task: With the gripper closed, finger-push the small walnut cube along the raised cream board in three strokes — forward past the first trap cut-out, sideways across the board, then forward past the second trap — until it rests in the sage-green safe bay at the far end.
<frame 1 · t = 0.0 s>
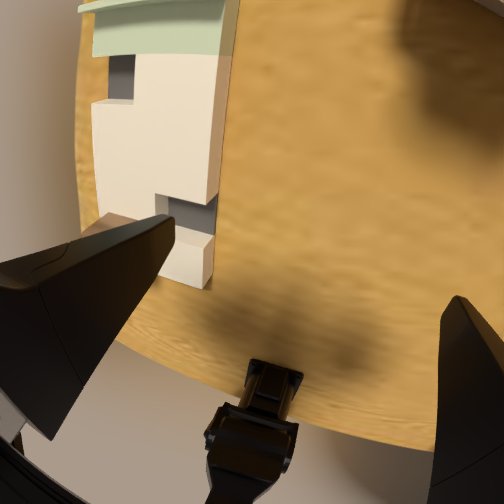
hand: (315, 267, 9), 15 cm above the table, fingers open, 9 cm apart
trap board: (160, 141, 25), on the table
walnut block: (127, 235, 28), point 2 cm above the table, touching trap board
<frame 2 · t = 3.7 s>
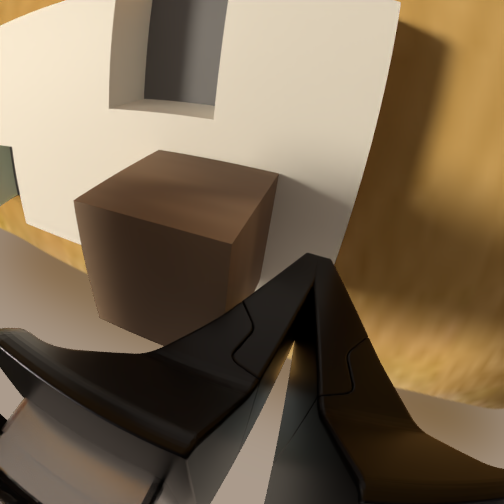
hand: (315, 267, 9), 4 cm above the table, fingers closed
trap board: (88, 115, 13), on the table
walnut block: (210, 216, 11), point 3 cm above the table, touching gripper
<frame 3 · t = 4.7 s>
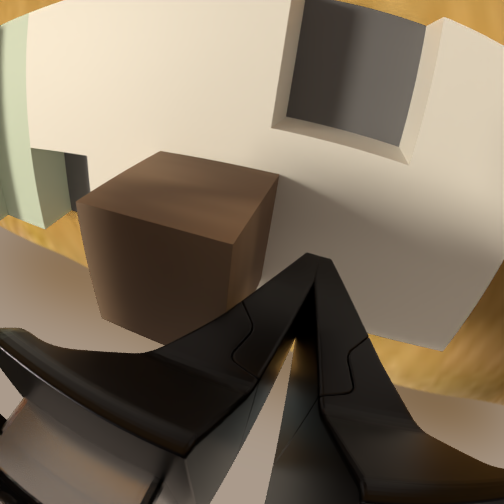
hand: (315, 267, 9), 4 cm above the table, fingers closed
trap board: (195, 125, 12), on the table
walnut block: (211, 216, 11), point 2 cm above the table, touching gripper, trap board
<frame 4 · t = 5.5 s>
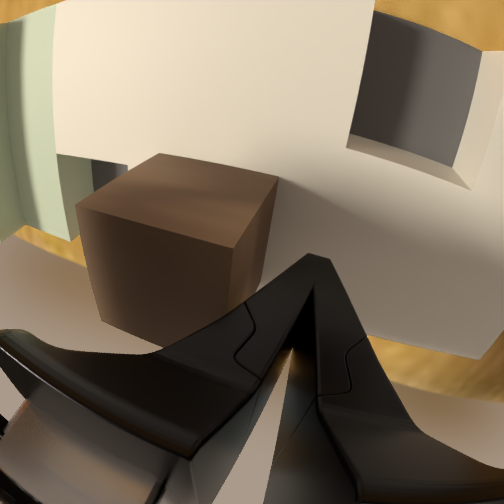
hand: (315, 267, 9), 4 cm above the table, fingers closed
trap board: (246, 135, 11), on the table
walnut block: (211, 219, 11), point 2 cm above the table, touching gripper, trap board
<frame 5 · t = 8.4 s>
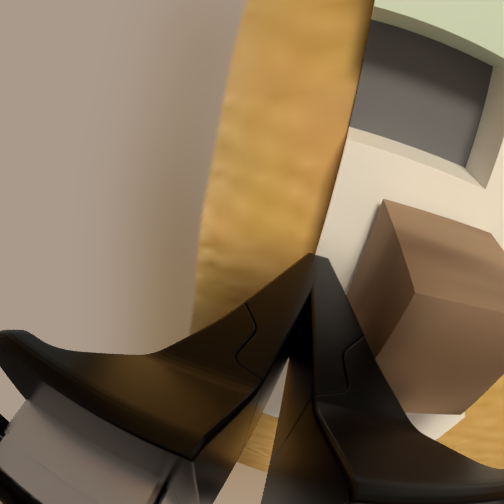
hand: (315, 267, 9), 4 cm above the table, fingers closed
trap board: (450, 251, 11), on the table
walnut block: (418, 270, 9), point 3 cm above the table, tilted 7°, touching gripper, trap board
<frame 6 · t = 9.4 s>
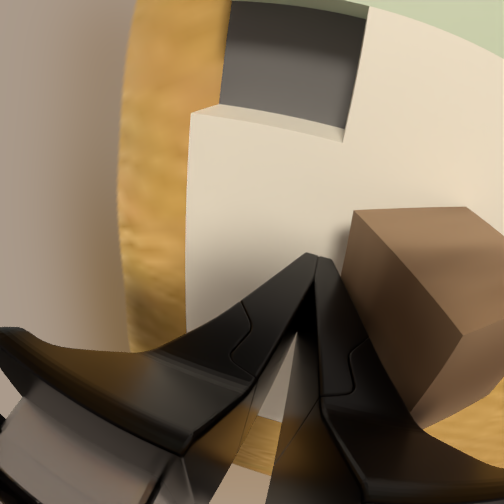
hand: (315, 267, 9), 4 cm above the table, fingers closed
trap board: (348, 221, 12), on the table
walnut block: (400, 270, 8), point 3 cm above the table, tilted 28°, touching gripper, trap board
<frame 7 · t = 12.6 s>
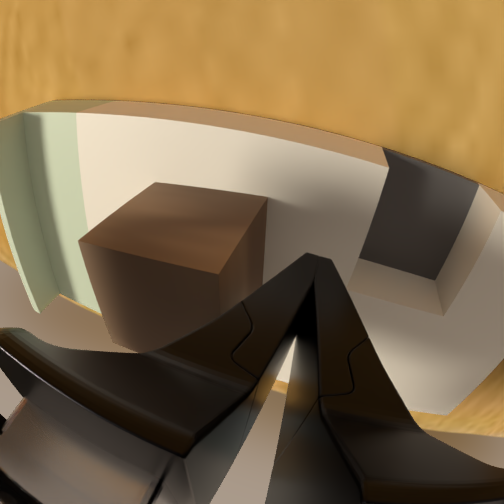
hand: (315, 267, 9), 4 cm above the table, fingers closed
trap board: (263, 248, 14), on the table
walnut block: (209, 240, 11), point 2 cm above the table, touching gripper, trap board
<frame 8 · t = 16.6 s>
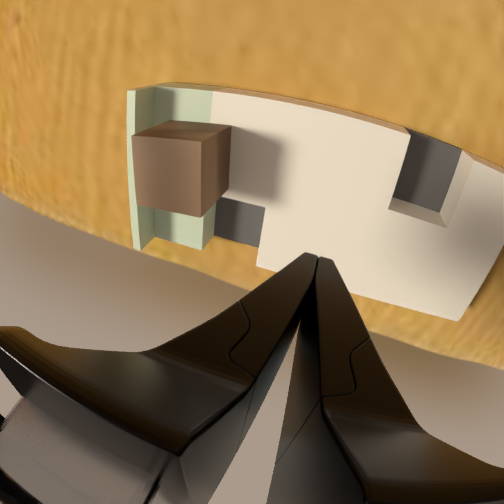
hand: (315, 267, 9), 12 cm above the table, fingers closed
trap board: (329, 191, 20), on the table
walnut block: (199, 153, 19), point 2 cm above the table, touching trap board
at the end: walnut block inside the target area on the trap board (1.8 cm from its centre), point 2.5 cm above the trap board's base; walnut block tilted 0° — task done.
